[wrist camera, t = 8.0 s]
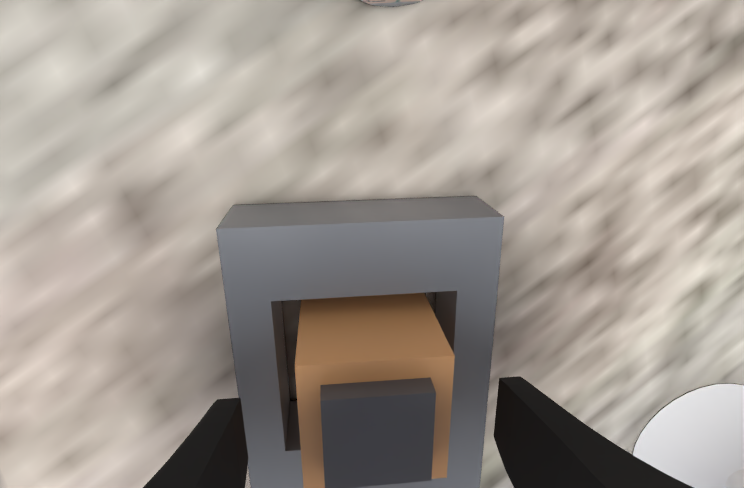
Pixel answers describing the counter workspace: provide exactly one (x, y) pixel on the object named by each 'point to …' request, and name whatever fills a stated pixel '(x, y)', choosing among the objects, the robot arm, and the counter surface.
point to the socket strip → (350, 279)
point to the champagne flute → (698, 438)
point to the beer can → (390, 2)
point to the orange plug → (372, 391)
